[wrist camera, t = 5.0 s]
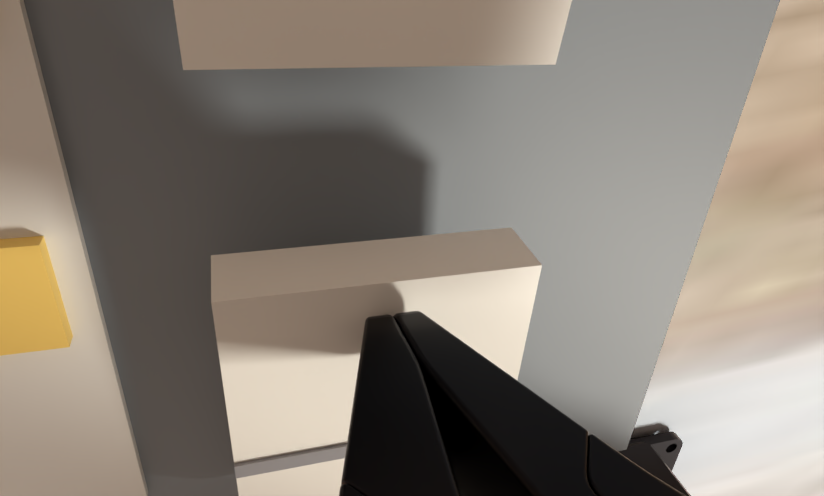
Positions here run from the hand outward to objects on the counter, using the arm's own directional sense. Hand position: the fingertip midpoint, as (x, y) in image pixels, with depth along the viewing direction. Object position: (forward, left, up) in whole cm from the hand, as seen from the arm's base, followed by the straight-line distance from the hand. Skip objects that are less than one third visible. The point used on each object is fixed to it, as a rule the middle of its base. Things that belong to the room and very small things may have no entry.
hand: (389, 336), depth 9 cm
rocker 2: (-3, 0, -1) cm, 3 cm away
